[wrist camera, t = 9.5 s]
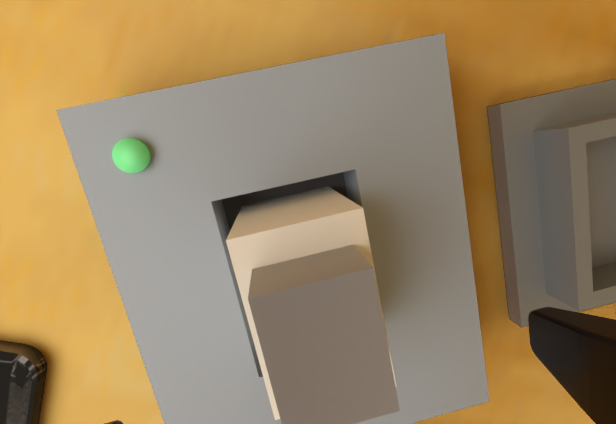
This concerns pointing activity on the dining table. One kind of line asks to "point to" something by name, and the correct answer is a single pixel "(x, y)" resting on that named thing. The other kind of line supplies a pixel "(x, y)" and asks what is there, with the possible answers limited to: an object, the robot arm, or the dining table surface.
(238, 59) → the dining table surface
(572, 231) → the holster
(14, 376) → the phone
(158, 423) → the dining table surface
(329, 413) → the plug
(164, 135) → the port
